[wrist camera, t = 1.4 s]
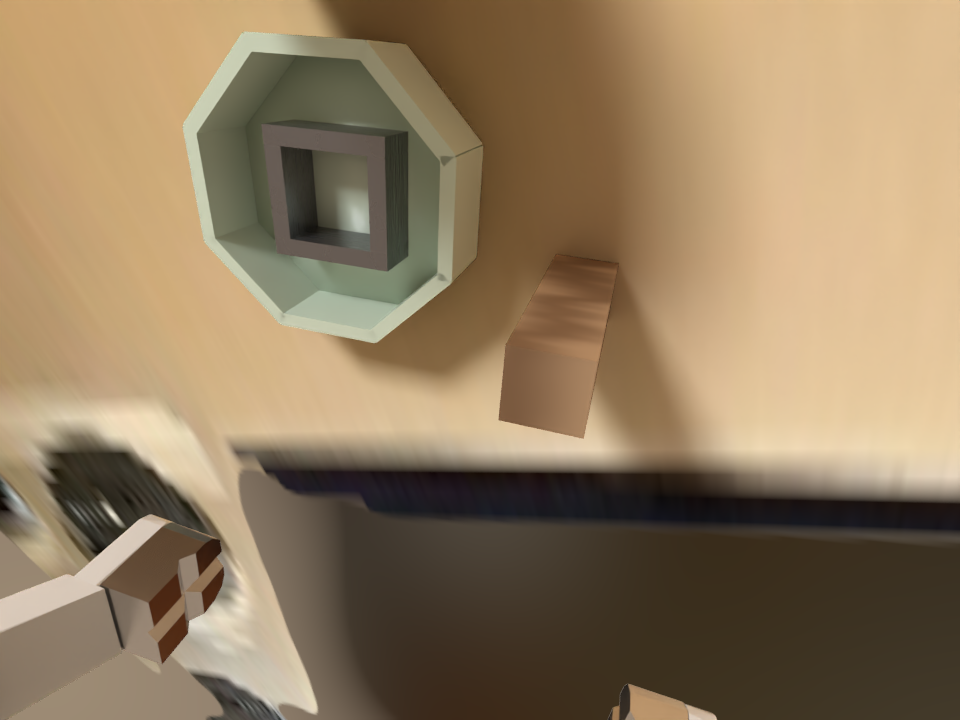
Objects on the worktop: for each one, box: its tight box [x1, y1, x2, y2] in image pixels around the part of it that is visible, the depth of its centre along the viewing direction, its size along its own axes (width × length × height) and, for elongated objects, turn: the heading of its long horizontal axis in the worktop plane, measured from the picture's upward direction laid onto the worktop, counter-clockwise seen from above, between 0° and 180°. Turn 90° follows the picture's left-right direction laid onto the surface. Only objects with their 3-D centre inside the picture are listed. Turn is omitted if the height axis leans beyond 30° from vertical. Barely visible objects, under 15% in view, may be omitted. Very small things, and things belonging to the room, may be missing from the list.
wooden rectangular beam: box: [499, 254, 618, 439], centre depth 26 cm, size 4×4×12 cm
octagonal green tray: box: [183, 32, 483, 343], centre depth 31 cm, size 15×15×5 cm
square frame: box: [261, 119, 408, 272], centre depth 31 cm, size 7×7×3 cm
